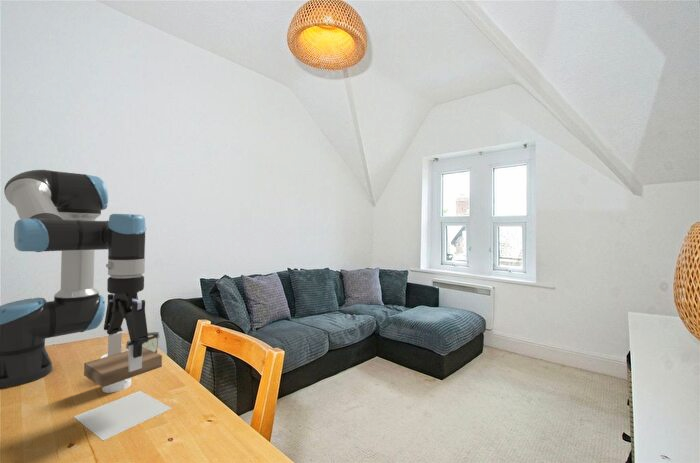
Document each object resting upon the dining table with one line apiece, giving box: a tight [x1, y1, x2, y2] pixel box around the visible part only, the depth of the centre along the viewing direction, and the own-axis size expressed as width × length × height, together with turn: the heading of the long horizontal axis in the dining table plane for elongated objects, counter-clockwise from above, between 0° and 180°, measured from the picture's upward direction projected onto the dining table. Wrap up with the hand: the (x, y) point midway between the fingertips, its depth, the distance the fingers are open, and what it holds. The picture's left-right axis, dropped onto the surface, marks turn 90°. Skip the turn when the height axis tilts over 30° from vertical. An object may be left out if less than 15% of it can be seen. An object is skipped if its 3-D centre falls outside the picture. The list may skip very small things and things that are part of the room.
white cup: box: [99, 349, 133, 394], centre depth 92 cm, size 8×8×10 cm
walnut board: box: [83, 347, 163, 388], centre depth 80 cm, size 10×13×3 cm
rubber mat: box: [73, 390, 173, 441], centre depth 80 cm, size 16×15×1 cm
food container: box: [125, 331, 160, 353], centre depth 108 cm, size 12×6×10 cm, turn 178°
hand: (124, 364), depth 80 cm, fingers closed on walnut board, 10 cm apart
